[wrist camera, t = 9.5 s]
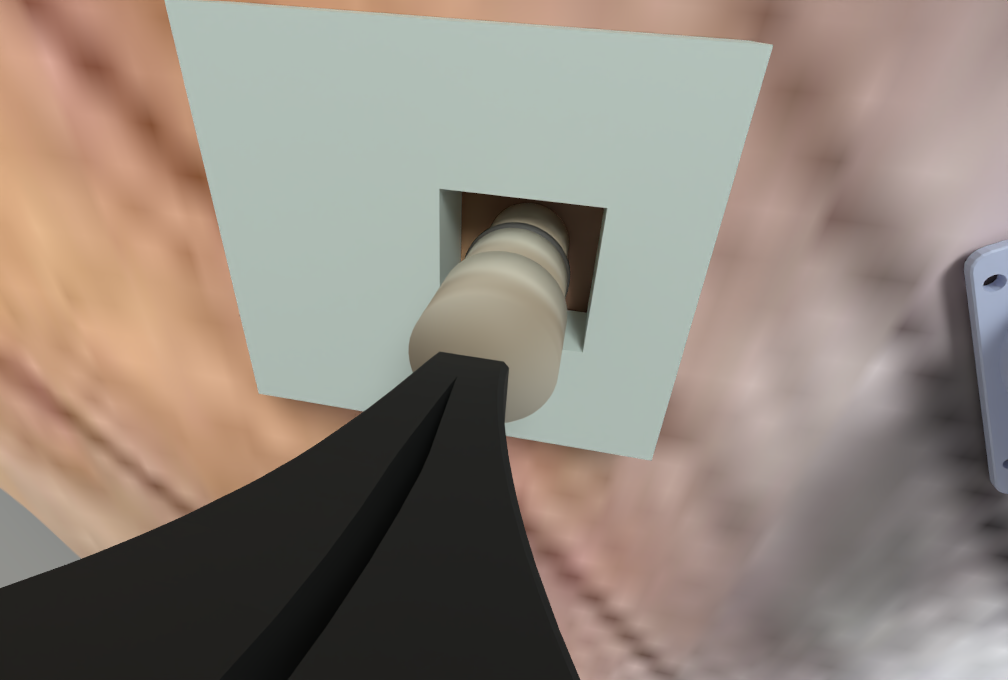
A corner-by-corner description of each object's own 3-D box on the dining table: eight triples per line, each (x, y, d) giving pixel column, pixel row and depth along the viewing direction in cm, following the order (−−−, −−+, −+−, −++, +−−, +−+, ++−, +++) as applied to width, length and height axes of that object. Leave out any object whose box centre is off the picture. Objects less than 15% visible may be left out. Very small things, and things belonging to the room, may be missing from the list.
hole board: (748, 40, 13) (772, 45, 11) (647, 412, 19) (651, 460, 17) (228, 1, 15) (164, -1, 13) (294, 356, 21) (258, 393, 19)
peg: (594, 267, 17) (583, 402, 11) (507, 300, 18) (455, 437, 12) (553, 175, 16) (515, 271, 10) (462, 218, 17) (380, 326, 11)
